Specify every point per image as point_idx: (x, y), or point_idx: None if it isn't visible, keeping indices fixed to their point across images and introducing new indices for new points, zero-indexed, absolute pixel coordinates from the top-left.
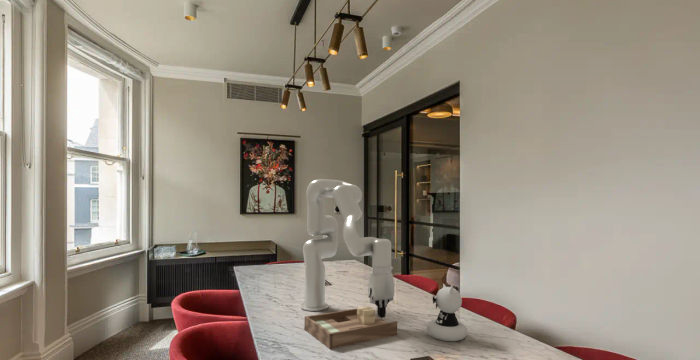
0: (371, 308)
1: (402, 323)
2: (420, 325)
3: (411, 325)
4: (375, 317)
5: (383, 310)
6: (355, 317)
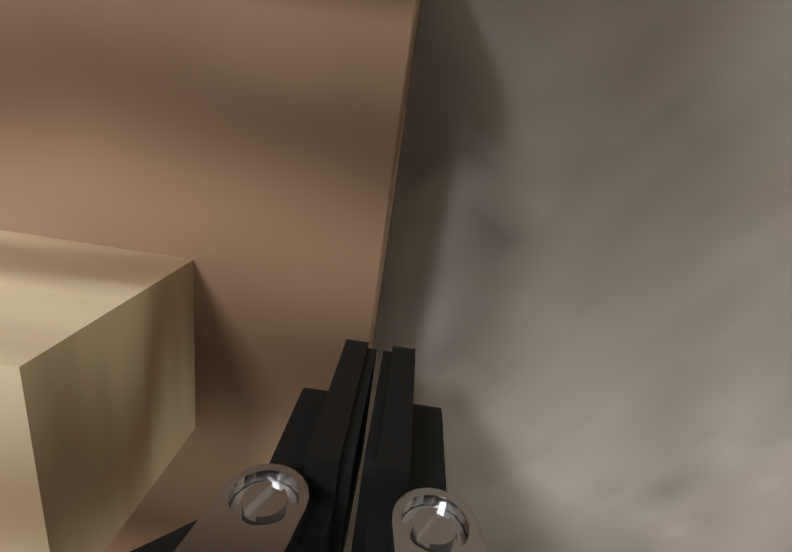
0: (18, 540)
1: (683, 390)
2: (763, 535)
3: (692, 486)
4: (347, 273)
5: (344, 545)
6: (35, 61)
